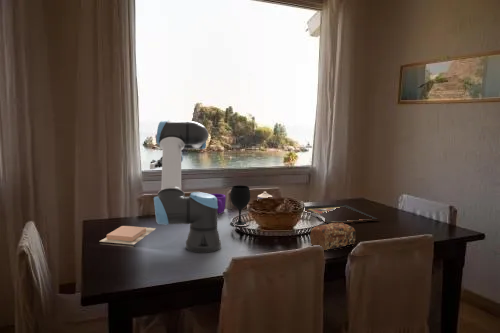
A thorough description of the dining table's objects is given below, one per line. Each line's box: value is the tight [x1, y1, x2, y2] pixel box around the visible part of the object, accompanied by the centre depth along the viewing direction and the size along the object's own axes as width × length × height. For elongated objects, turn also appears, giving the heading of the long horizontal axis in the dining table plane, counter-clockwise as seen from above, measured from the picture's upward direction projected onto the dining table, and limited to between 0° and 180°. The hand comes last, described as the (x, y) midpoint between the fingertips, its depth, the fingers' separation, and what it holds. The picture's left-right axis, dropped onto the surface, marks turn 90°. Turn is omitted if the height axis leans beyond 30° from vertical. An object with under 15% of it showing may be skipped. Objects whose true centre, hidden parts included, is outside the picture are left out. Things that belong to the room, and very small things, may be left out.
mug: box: [210, 193, 227, 215], centre depth 221 cm, size 17×11×10 cm, turn 22°
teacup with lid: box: [257, 191, 273, 200], centre depth 231 cm, size 12×9×12 cm
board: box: [99, 225, 157, 248], centre depth 175 cm, size 24×16×1 cm, turn 171°
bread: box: [309, 223, 357, 251], centre depth 171 cm, size 19×11×10 cm, turn 120°
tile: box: [106, 225, 146, 242], centre depth 173 cm, size 2×12×14 cm
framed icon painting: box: [304, 204, 378, 224], centre depth 225 cm, size 38×35×3 cm
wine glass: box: [229, 184, 251, 227], centre depth 199 cm, size 10×10×20 cm
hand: (151, 166), depth 192 cm, fingers closed
